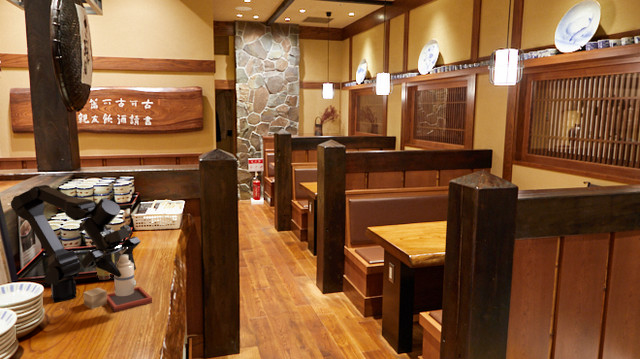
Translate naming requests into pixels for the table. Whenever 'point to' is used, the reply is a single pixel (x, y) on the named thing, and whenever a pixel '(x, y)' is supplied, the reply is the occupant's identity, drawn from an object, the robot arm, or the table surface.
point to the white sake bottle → (124, 277)
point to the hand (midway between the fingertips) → (127, 273)
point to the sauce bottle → (102, 273)
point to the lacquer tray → (128, 300)
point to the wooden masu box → (95, 298)
